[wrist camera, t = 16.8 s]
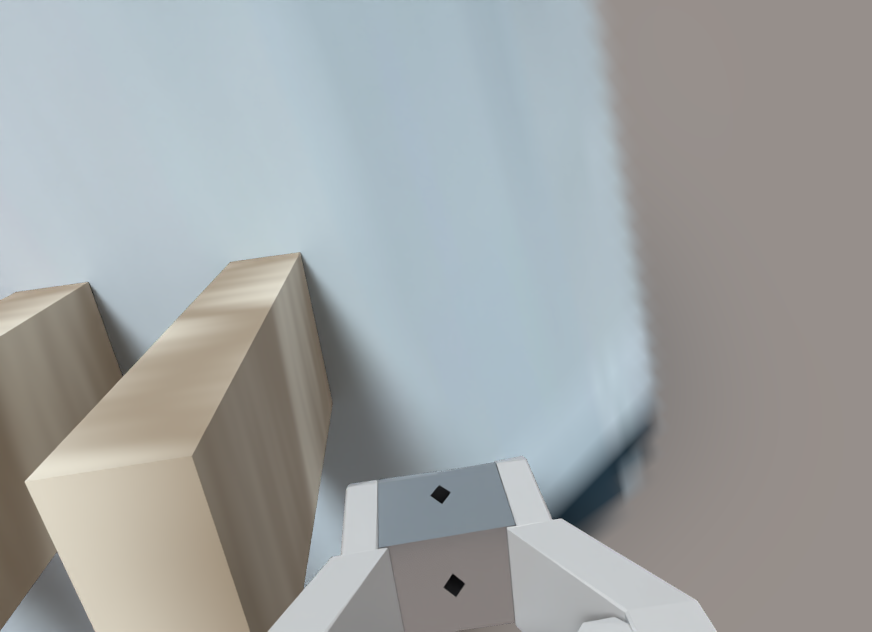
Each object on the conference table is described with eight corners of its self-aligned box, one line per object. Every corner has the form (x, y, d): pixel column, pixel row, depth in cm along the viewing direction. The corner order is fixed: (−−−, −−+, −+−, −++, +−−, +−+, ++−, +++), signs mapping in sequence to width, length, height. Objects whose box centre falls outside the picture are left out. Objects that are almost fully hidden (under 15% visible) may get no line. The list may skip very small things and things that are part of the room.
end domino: (270, 412, 18) (150, 749, 9) (230, 262, 16) (23, 481, 7) (332, 403, 18) (281, 725, 9) (300, 252, 16) (191, 456, 7)
